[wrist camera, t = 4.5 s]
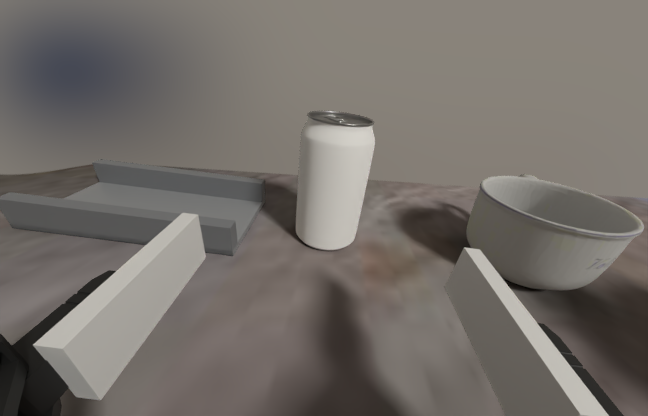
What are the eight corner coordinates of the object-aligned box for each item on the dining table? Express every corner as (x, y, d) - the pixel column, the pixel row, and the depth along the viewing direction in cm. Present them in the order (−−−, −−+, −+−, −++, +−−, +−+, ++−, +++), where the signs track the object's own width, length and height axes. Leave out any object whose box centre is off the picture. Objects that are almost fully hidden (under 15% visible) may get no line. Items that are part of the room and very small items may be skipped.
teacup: (589, 334, 18) (676, 254, 14) (442, 266, 24) (477, 193, 20) (563, 248, 29) (610, 187, 25) (465, 214, 34) (490, 158, 30)
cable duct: (12, 227, 22) (-7, 198, 20) (109, 181, 31) (100, 159, 29) (232, 255, 22) (230, 228, 20) (265, 201, 31) (264, 179, 29)
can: (308, 259, 22) (321, 125, 16) (287, 221, 27) (291, 108, 21) (366, 246, 25) (395, 126, 19) (337, 214, 30) (354, 111, 24)
